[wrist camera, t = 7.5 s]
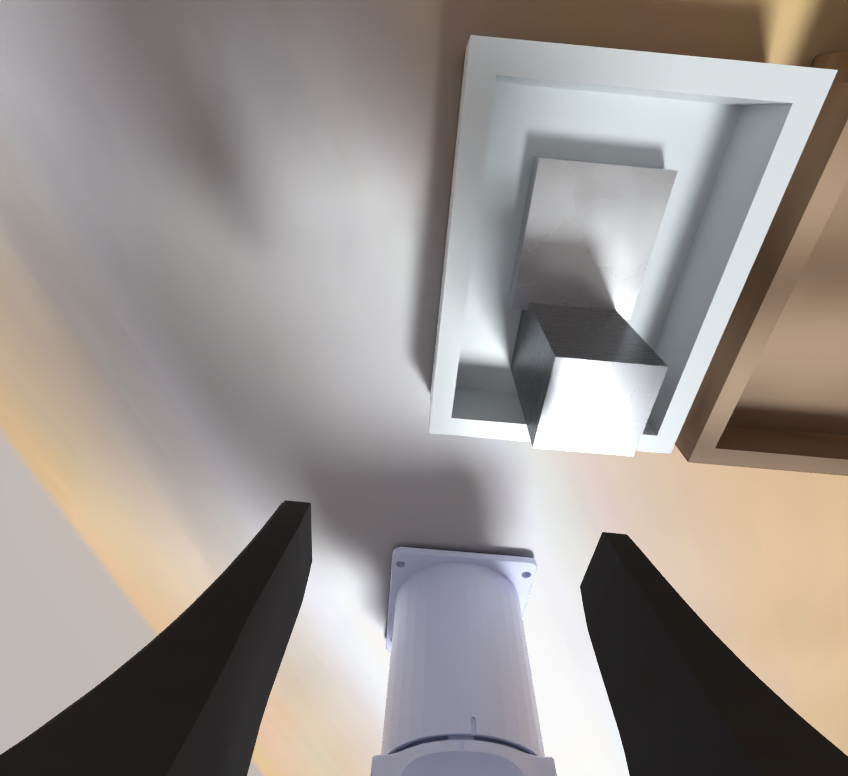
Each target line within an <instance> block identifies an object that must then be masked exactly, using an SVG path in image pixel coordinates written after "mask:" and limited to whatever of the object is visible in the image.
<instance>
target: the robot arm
mask: <svg viewBox="0 0 848 776" xmlns="http://www.w3.org/2000/svg"><path fill="white" fill-rule="evenodd" d="M400 561H402V562H400ZM311 563H312V537H311V503H305V502H295V501H284V502H283V503H281V505H280V506H279V507H278V509H277V510H276V511H275V513H274V514H273V515H272V516H271V518H270V519H269V520H268V521H267V523H266V524H265V525H264V526H263V528H262V529H261V530H260V531H259V532H258V534H257V535H256V536H255V537H254V538H253V540H252V541H251V542H250V543H249V544H248V545H247V547H246V548H245V549H244V550H243V551H242V552H241V553H240V554H239V555H238V557H237V558H236V559H235V560H234V561H233V562H232V563H231V564H230V565H229V567H228V568H227V569H226V570H225V571H224V572H223V573H222V574H221V575H220V576H219V577H218V578H217V579H216V580H215V581H214V582H213V583H212V584H211V585H210V586H209V587H208V588H207V589H206V590H205V591H204V593H203V594H202V595H201V596H200V597H199V598H198V599H197V600H196V601H195V602H194V603H193V604H192V605H191V606H190V607H188V608H187V609H186V610H185V611H184V612H183V613H182V614H181V615H180V616H179V617H178V618H177V619H176V620H175V621H174V622H172V623H171V624H170V625H169V626H168V627H167V628H166V629H165V630H164V631H162V632H161V633H160V634H159V635H158V636H157V637H156V638H155V639H153V640H152V641H151V642H150V643H149V644H148V645H147V646H145V647H144V648H143V649H142V650H141V651H139V652H138V653H137V654H136V655H135V656H133V657H132V658H131V659H130V660H129V661H127V662H126V663H125V664H124V665H122V666H121V667H120V668H119V669H118V670H116V671H115V672H114V673H113V674H111V675H110V676H109V677H108V678H106V679H105V680H104V681H103V682H101V683H100V684H99V685H97V686H96V687H95V688H94V689H92V690H91V691H90V692H88V693H87V694H85V695H84V696H83V697H81V698H80V699H79V700H77V701H76V702H75V703H73V704H72V705H70V706H69V707H68V708H66V709H65V710H64V711H62V712H61V713H59V714H58V715H57V716H55V717H54V718H53V719H51V720H50V721H49V722H47V723H46V724H44V725H43V726H42V727H40V728H39V729H38V730H36V731H35V732H33V733H32V734H31V735H29V736H28V737H26V738H25V739H23V740H22V741H21V742H19V743H18V744H16V745H15V746H13V747H12V748H10V749H9V750H7V751H5V752H4V753H2V754H1V755H0V776H247V773H248V769H249V765H250V762H251V758H252V754H253V750H254V746H255V743H256V739H257V735H258V731H259V727H260V724H261V720H262V717H263V714H264V711H265V707H266V704H267V701H268V698H269V695H270V692H271V689H272V687H273V684H274V681H275V678H276V675H277V672H278V670H279V667H280V664H281V661H282V658H283V656H284V653H285V650H286V647H287V644H288V641H289V639H290V636H291V633H292V630H293V627H294V624H295V621H296V619H297V616H298V613H299V610H300V607H301V604H302V601H303V597H304V593H305V589H306V585H307V580H308V576H309V572H310V567H311ZM536 570H537V564H536V561H535V560H534V559H533V558H530V557H519V556H507V555H495V554H483V553H471V552H459V551H447V550H434V549H422V548H410V547H398V548H395V549H394V550H393V553H392V565H391V580H390V595H389V609H388V624H387V639H386V649H387V650H388V651H389V652H391V657H390V668H389V678H388V689H387V699H386V710H385V720H384V731H383V741H382V752H381V755H376V756H373V758H372V766H371V775H370V776H557V774H556V769H555V763H554V759H553V758H552V757H545V755H544V749H543V743H542V737H541V731H540V724H539V718H538V712H537V706H536V700H535V694H534V688H533V681H532V675H531V669H530V663H529V657H528V651H527V645H526V639H525V632H524V626H523V620H522V616H523V613H524V610H525V607H526V603H527V600H528V597H529V593H530V590H531V587H532V583H533V580H534V577H535V573H536ZM580 589H581V595H582V601H583V607H584V612H585V618H586V623H587V628H588V632H589V635H590V639H591V642H592V645H593V649H594V652H595V655H596V659H597V662H598V665H599V668H600V672H601V675H602V678H603V681H604V685H605V688H606V691H607V694H608V697H609V701H610V704H611V707H612V710H613V714H614V717H615V720H616V723H617V727H618V730H619V733H620V737H621V741H622V745H623V748H624V752H625V756H626V761H627V765H628V770H629V774H630V776H848V756H847V755H846V754H844V753H843V752H842V751H841V750H840V749H838V748H837V747H836V746H835V745H834V744H832V743H831V742H830V741H829V740H828V739H826V738H825V737H824V736H823V735H822V734H820V733H819V732H818V731H817V730H816V729H814V728H813V727H812V726H811V725H810V724H809V723H808V722H806V721H805V720H804V719H803V718H802V717H801V716H800V715H798V714H797V713H796V712H795V711H794V710H793V709H792V708H791V707H789V706H788V705H787V704H786V703H785V702H784V701H783V700H782V699H781V698H780V697H779V696H778V695H776V694H775V693H774V692H773V691H772V690H771V689H770V688H769V687H768V686H767V685H766V684H765V683H763V682H762V681H761V680H760V679H759V678H758V677H757V676H756V675H755V674H754V673H753V672H752V671H751V670H750V669H749V668H748V667H747V666H746V665H745V664H744V663H743V662H742V661H741V660H740V659H739V658H738V657H737V656H736V655H735V654H734V653H733V652H732V651H731V650H730V649H729V648H728V647H727V646H726V645H725V644H724V643H723V642H722V641H721V640H720V639H719V638H718V637H717V636H716V635H715V634H714V633H713V631H712V630H711V629H710V628H709V627H708V626H707V625H706V624H705V623H704V622H703V621H702V620H701V619H700V617H699V616H698V615H697V614H696V613H695V612H694V611H693V610H692V609H691V608H690V606H689V605H688V604H687V603H686V602H685V601H684V600H683V599H682V597H681V596H680V595H679V594H678V593H677V592H676V591H675V589H674V588H673V587H672V586H671V585H670V584H669V583H668V581H667V580H666V579H665V578H664V577H663V576H662V574H661V573H660V572H659V571H658V570H657V569H656V568H655V566H654V565H653V564H652V563H651V562H650V560H649V559H648V558H647V557H646V556H645V555H644V553H643V552H642V551H641V550H640V549H639V548H638V547H637V545H636V544H635V543H634V542H633V541H632V540H631V539H630V537H629V536H628V535H626V534H616V533H606V532H602V535H601V537H600V540H599V542H598V544H597V547H596V549H595V552H594V554H593V557H592V559H591V561H590V564H589V566H588V569H587V571H586V573H585V576H584V578H583V581H582V583H581V586H580Z"/></svg>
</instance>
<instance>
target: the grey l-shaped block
mask: <svg viewBox="0 0 848 776" xmlns="http://www.w3.org/2000/svg"><path fill="white" fill-rule="evenodd" d="M677 172H678V171H676V170H671V169H666V168H658V167H647V166H636V165H626V164H615V163H604V162H593V161H583V160H572V159H561V158H550V157H540V156H534V157H533V163H532V168H531V174H530V179H529V185H528V190H527V196H526V202H525V207H524V213H523V218H522V224H521V230H520V235H519V241H518V246H517V252H516V258H515V263H514V269H513V274H512V280H511V286H510V291H509V297H508V301H509V304H510V307H511V309H517V310H522V311H521V316H520V321H519V326H518V331H517V336H516V341H515V346H514V352H513V357H512V362H511V367H510V368H511V372H512V375H513V379H514V383H515V386H516V390H517V393H518V397H519V400H520V404H521V408H522V411H523V415H524V418H525V422H526V425H527V429H528V432H529V436H530V440H531V443H532V447H533V448H539V449H551V450H562V451H574V452H586V453H597V454H609V455H621V456H633V457H634V454H635V452H636V449H637V447H638V444H639V441H640V439H641V436H642V434H643V431H644V428H645V426H646V423H647V421H648V418H649V416H650V413H651V410H652V408H653V405H654V403H655V400H656V398H657V395H658V392H659V390H660V387H661V385H662V382H663V380H664V377H665V374H666V372H667V369H668V366H667V365H666V364H665V362H664V361H663V360H662V359H661V358H660V357H659V356H658V355H657V354H656V353H655V352H654V351H653V350H652V348H651V347H650V346H649V345H648V344H647V343H646V342H645V341H644V340H643V339H642V338H641V337H640V336H639V334H638V333H637V332H636V331H635V330H634V329H633V328H632V327H631V326H630V325H629V324H628V323H627V322H626V321H625V319H629V320H630V318H631V315H632V311H633V308H634V305H635V302H636V299H637V296H638V293H639V290H640V287H641V284H642V280H643V277H644V274H645V271H646V268H647V265H648V262H649V259H650V256H651V253H652V250H653V246H654V243H655V240H656V237H657V234H658V231H659V228H660V225H661V222H662V219H663V215H664V212H665V209H666V206H667V203H668V200H669V197H670V194H671V191H672V188H673V184H674V181H675V178H676V175H677Z"/></svg>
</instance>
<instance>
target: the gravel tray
mask: <svg viewBox="0 0 848 776" xmlns="http://www.w3.org/2000/svg"><path fill="white" fill-rule="evenodd" d="M812 68H822V69H833V70H838V71H837V73H836V76H835V78H834V80H833V82H832V85H831V87H830V89H829V92H828V94H827V96H826V98H825V101H824V103H823V105H822V108H821V110H820V112H819V114H818V117H817V119H816V121H815V124H814V126H813V128H812V131H811V133H810V135H809V137H808V140H807V142H806V144H805V147H804V149H803V151H802V153H801V156H800V158H799V160H798V163H797V165H796V167H795V169H794V172H793V174H792V176H791V179H790V181H789V183H788V186H787V188H786V190H785V192H784V195H783V197H782V199H781V202H780V204H779V206H778V208H777V211H776V213H775V215H774V218H773V220H772V222H771V224H770V227H769V229H768V231H767V234H766V236H765V238H764V241H763V243H762V245H761V247H760V250H759V252H758V254H757V257H756V259H755V261H754V263H753V266H752V268H751V270H750V273H749V275H748V277H747V279H746V282H745V284H744V286H743V289H742V291H741V293H740V296H739V298H738V300H737V302H736V305H735V307H734V309H733V312H732V314H731V316H730V318H729V321H728V323H727V325H726V328H725V330H724V332H723V334H722V337H721V339H720V341H719V344H718V346H717V348H716V351H715V353H714V355H713V357H712V360H711V362H710V364H709V367H708V369H707V371H706V373H705V376H704V378H703V380H702V383H701V385H700V387H699V389H698V392H697V394H696V396H695V399H694V401H693V403H692V406H691V408H690V410H689V412H688V415H687V417H686V419H685V422H684V424H683V426H682V428H681V431H680V433H679V435H678V438H677V440H676V442H675V445H676V446H677V448H678V449H679V450H680V452H681V453H682V454H683V456H684V457H685V459H686V460H687V461H688V462H692V463H703V464H715V465H727V466H739V467H750V468H762V469H774V470H786V471H797V472H809V473H821V474H833V475H844V476H848V50H846V51H841V52H835V53H830V54H824V55H818V56H816V57H815V60H814V62H813V64H812Z"/></svg>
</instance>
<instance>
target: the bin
mask: <svg viewBox="0 0 848 776" xmlns="http://www.w3.org/2000/svg"><path fill="white" fill-rule="evenodd" d="M837 71H838V70H833V69H822V68H812V67H801V66H791V65H781V64H770V63H760V62H749V61H739V60H728V59H718V58H708V57H697V56H687V55H676V54H666V53H655V52H645V51H635V50H624V49H614V48H603V47H593V46H582V45H572V44H561V43H551V42H541V41H530V40H520V39H509V38H499V37H488V36H478V35H471V36H470V39H469V42H468V45H467V48H466V51H465V60H464V70H463V80H462V90H461V100H460V109H459V119H458V129H457V139H456V148H455V158H454V168H453V178H452V188H451V197H450V207H449V217H448V227H447V236H446V246H445V256H444V266H443V276H442V285H441V295H440V305H439V315H438V325H437V334H436V344H435V354H434V364H433V373H432V383H431V393H430V416H429V433H432V434H444V435H456V436H468V437H479V438H491V439H503V440H514V441H526V442H531V440H530V436H529V432H528V429H527V425H526V422H525V418H524V415H523V411H522V408H521V404H520V400H519V397H518V393H517V390H516V386H515V383H514V379H513V375H512V372H511V368H510V367H511V362H512V357H513V352H514V346H515V341H516V336H517V331H518V326H519V321H520V316H521V311H522V310H517V309H511V307H510V304H509V301H508V297H509V291H510V286H511V280H512V274H513V269H514V263H515V258H516V252H517V246H518V241H519V235H520V230H521V224H522V218H523V213H524V207H525V202H526V196H527V190H528V185H529V179H530V174H531V168H532V163H533V157H534V156H540V157H550V158H561V159H572V160H583V161H593V162H604V163H615V164H626V165H636V166H647V167H658V168H666V169H671V170H676V171H678V172H677V175H676V178H675V181H674V184H673V188H672V191H671V194H670V197H669V200H668V203H667V206H666V209H665V212H664V215H663V219H662V222H661V225H660V228H659V231H658V234H657V237H656V240H655V243H654V246H653V250H652V253H651V256H650V259H649V262H648V265H647V268H646V271H645V274H644V277H643V280H642V284H641V287H640V290H639V293H638V296H637V299H636V302H635V305H634V308H633V311H632V315H631V318H630V320H629V319H625V321H626V322H627V323H628V324H629V325H630V326H631V327H632V328H633V329H634V330H635V331H636V332H637V333H638V334H639V336H640V337H641V338H642V339H643V340H644V341H645V342H646V343H647V344H648V345H649V346H650V347H651V348H652V350H653V351H654V352H655V353H656V354H657V355H658V356H659V357H660V358H661V359H662V360H663V361H664V362H665V364H666V365H667V366H668V369H667V372H666V374H665V377H664V380H663V382H662V385H661V387H660V390H659V392H658V395H657V398H656V400H655V403H654V405H653V408H652V410H651V413H650V416H649V418H648V421H647V423H646V426H645V428H644V431H643V434H642V436H641V439H640V441H639V444H638V447H637V449H636V451H643V452H655V453H667V454H671V451H672V449H673V447H674V444H675V442H676V440H677V438H678V435H679V433H680V431H681V428H682V426H683V424H684V422H685V419H686V417H687V415H688V412H689V410H690V408H691V406H692V403H693V401H694V399H695V396H696V394H697V392H698V389H699V387H700V385H701V383H702V380H703V378H704V376H705V373H706V371H707V369H708V367H709V364H710V362H711V360H712V357H713V355H714V353H715V351H716V348H717V346H718V344H719V341H720V339H721V337H722V334H723V332H724V330H725V328H726V325H727V323H728V321H729V318H730V316H731V314H732V312H733V309H734V307H735V305H736V302H737V300H738V298H739V296H740V293H741V291H742V289H743V286H744V284H745V282H746V279H747V277H748V275H749V273H750V270H751V268H752V266H753V263H754V261H755V259H756V257H757V254H758V252H759V250H760V247H761V245H762V243H763V241H764V238H765V236H766V234H767V231H768V229H769V227H770V224H771V222H772V220H773V218H774V215H775V213H776V211H777V208H778V206H779V204H780V202H781V199H782V197H783V195H784V192H785V190H786V188H787V186H788V183H789V181H790V179H791V176H792V174H793V172H794V169H795V167H796V165H797V163H798V160H799V158H800V156H801V153H802V151H803V149H804V147H805V144H806V142H807V140H808V137H809V135H810V133H811V131H812V128H813V126H814V124H815V121H816V119H817V117H818V114H819V112H820V110H821V108H822V105H823V103H824V101H825V98H826V96H827V94H828V92H829V89H830V87H831V85H832V82H833V80H834V78H835V76H836V73H837Z"/></svg>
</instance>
